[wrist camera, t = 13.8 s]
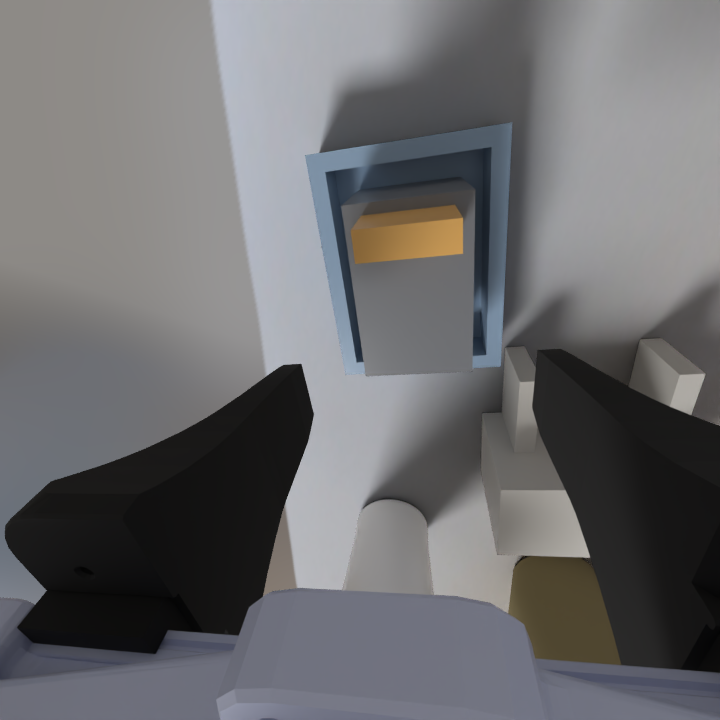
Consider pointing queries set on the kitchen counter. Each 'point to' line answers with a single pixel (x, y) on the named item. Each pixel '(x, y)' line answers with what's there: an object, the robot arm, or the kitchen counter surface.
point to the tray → (408, 165)
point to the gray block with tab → (413, 275)
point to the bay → (533, 464)
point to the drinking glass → (390, 550)
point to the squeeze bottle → (562, 610)
